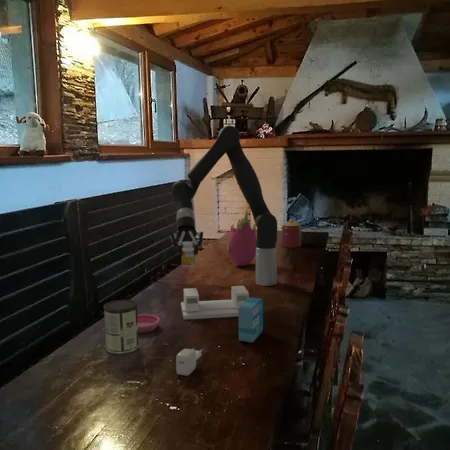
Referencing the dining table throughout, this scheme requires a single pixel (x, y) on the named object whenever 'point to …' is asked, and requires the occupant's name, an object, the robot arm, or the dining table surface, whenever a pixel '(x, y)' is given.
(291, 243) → the canister
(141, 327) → the saucer
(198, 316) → the rail panel
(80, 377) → the dining table surface
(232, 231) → the pink dragon fruit
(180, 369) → the power adapter
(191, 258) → the supplement bottle
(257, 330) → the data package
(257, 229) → the robot arm
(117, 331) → the coffee can
